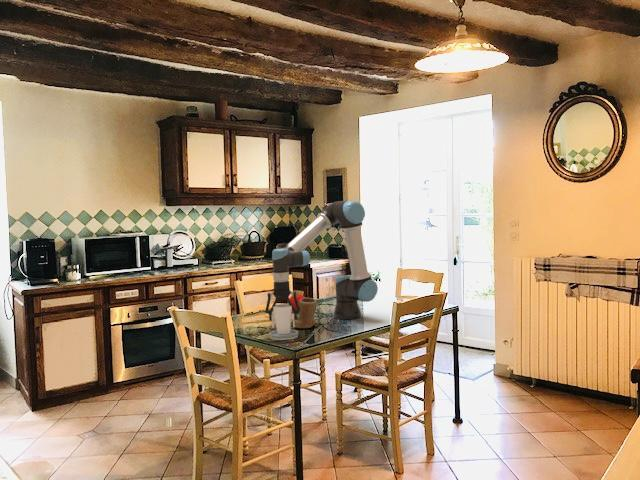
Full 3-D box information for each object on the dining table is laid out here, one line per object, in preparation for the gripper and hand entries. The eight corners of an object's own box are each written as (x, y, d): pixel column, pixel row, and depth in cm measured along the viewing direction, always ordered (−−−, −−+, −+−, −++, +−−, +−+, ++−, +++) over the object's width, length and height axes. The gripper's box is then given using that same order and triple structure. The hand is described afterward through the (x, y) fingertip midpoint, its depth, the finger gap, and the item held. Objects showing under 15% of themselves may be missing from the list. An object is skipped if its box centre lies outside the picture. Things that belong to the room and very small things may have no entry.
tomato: (308, 309, 339) (307, 292, 339) (305, 313, 329) (305, 295, 328) (290, 310, 340) (289, 292, 340) (287, 313, 330) (287, 295, 329)
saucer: (298, 332, 282) (298, 328, 282) (297, 339, 268) (297, 335, 268) (270, 333, 282) (270, 329, 282) (268, 340, 268) (267, 336, 268)
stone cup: (314, 330, 286) (312, 300, 285) (291, 329, 289) (290, 300, 288) (322, 323, 300) (320, 295, 299) (300, 323, 304) (299, 295, 303)
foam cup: (290, 334, 269) (289, 307, 268) (271, 334, 271) (270, 307, 270) (295, 329, 278) (294, 303, 277) (277, 329, 280) (276, 303, 279)
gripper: (257, 283, 269) (259, 329, 271) (304, 281, 269) (306, 327, 271) (259, 280, 277) (261, 326, 278) (304, 278, 277) (306, 324, 278)
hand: (283, 326), depth 274 cm, fingers closed on foam cup, 9 cm apart
